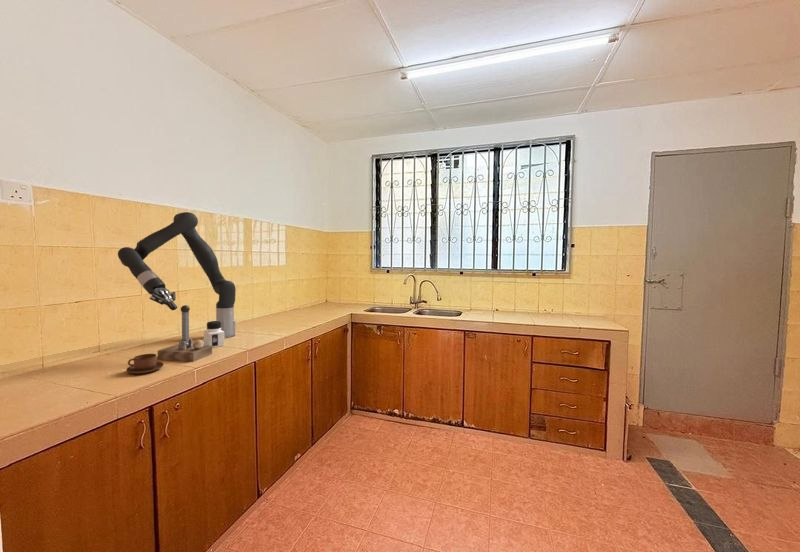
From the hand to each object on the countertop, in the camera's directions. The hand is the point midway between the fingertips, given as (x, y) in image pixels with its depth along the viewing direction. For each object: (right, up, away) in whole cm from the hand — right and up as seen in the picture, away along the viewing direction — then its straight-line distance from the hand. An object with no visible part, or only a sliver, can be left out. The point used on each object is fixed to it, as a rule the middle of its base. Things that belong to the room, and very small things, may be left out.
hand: (175, 309), depth 154 cm
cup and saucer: (+1, -24, -19) cm, 30 cm away
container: (+7, -22, +20) cm, 30 cm away
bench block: (+5, -22, +1) cm, 23 cm away
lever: (+5, -18, 0) cm, 19 cm away
